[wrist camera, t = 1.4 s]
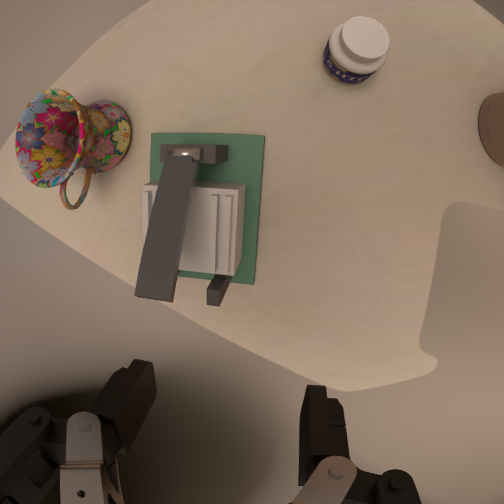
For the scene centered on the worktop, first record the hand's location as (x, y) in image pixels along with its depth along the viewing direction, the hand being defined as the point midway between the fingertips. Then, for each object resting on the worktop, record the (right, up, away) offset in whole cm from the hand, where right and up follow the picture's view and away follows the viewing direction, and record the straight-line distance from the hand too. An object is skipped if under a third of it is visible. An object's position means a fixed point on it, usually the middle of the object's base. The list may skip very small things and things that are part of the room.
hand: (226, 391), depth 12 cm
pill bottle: (+11, +25, +16) cm, 32 cm away
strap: (-5, +8, +12) cm, 15 cm away
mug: (-16, +18, +21) cm, 32 cm away
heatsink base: (-4, +10, +22) cm, 25 cm away
